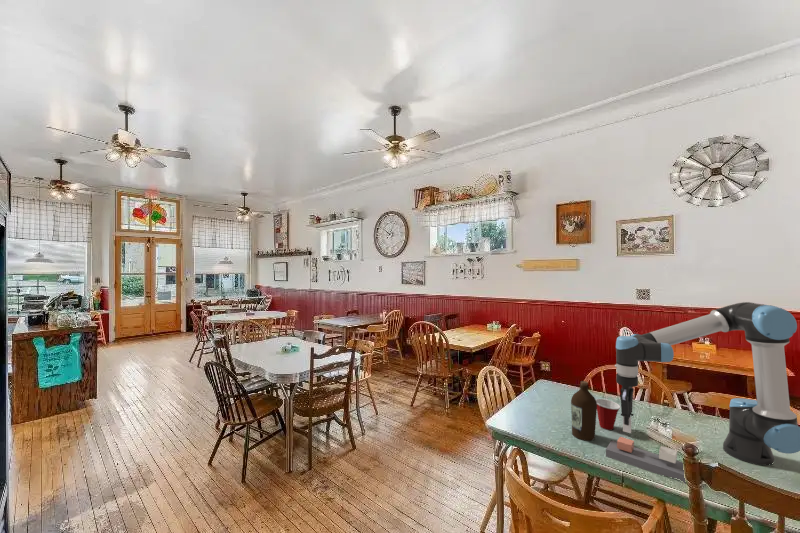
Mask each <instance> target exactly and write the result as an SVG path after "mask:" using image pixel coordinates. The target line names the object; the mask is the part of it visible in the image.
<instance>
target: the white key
mask: <svg viewBox="0 0 800 533" xmlns="http://www.w3.org/2000/svg"><path fill="white" fill-rule="evenodd" d="M658 455H659V459H662V460H666V461H669V462H672V463H676V460H677V459H678V450H676V449H673V448H670V447H666V446H665V445H660V447H659V450H658Z"/></svg>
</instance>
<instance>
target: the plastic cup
mask: <svg viewBox="0 0 800 533" xmlns="http://www.w3.org/2000/svg"><path fill="white" fill-rule="evenodd" d="M595 400H596V402H597V413H596V414H597V419H598V423H599V426H600V428H601V429H604V430H607V431H611V430H614V427H615V423H616V419H617V415H618V412H619V410H621V404H618V403H617V402H615V401H612V400H609V399H606V398H605V399H604V398H595Z"/></svg>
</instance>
